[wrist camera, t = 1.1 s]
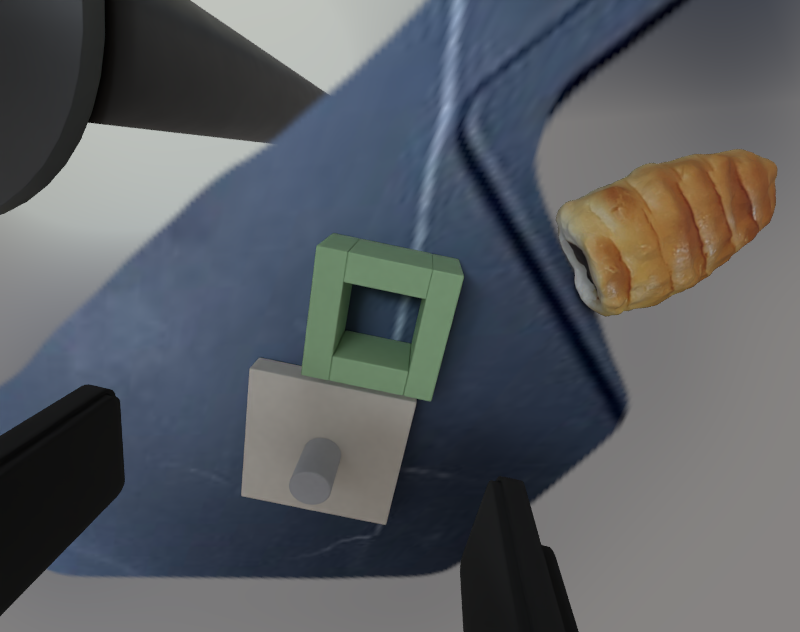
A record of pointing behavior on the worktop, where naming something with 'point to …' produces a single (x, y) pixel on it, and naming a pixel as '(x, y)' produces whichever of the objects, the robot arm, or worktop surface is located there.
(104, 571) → the worktop surface
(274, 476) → the base pad
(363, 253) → the green hollow square block
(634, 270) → the pastry
